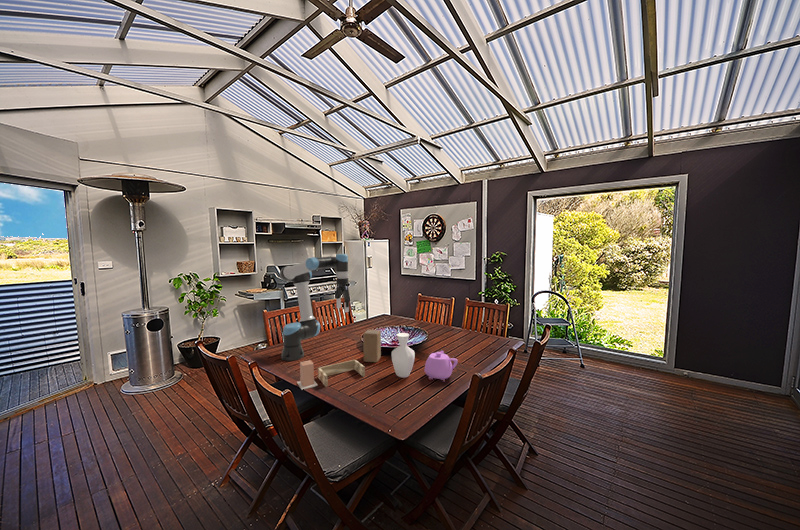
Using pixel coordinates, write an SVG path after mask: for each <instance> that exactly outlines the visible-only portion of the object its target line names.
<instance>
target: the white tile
mask: <svg viewBox="0 0 800 530" xmlns="http://www.w3.org/2000/svg"><path fill="white" fill-rule="evenodd" d="M296 383H297V385H298V387H299V389H300V390H301V391H303V389H304V390H307V389H311V388H315V387H318V385H319V384H318V383H317V382H316V381H315V380H314V384H312V385H308V386H304V387H303V386H302V384H301V383H300V381H296Z"/></svg>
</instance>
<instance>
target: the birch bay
mask: <svg viewBox="0 0 800 530" xmlns="http://www.w3.org/2000/svg"><path fill="white" fill-rule="evenodd" d="M349 371H355V372H357V373H358V374H359V375H361V377H363V378H364V377H366V366H365V365H363V364H362V363H360V362H359V361H358V360H357V359H354V358H353V359H351V360H346V361H343V362H341V361H340V362H338V363H333V364H329V365H324V366H320V367H317V378H318V379H319V381H320V382H321V383H322V385H323V386H324V387H325V388H326V387H328V385H329V383H328V382H329V381H328V379H329V378H328V377H329V376H335V375H337V374H341V373H345V372H346V373H347V372H349Z"/></svg>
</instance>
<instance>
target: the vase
mask: <svg viewBox="0 0 800 530" xmlns="http://www.w3.org/2000/svg"><path fill="white" fill-rule="evenodd" d="M396 336H397V339H398V343H399V345H398V346H397V347H395V348H394V349H393V350H392V351H391V361H392V365H393V368H394V372H395V375H396V376H397V377H399V378H408V377H409V376H410V374H411V372H412V370H413V368H414V363H415V356H416V355H415V354H416V353H415V350H413V348H410V347H409V346H408V345H407V344H408V343H409V337H410V334H409V333H406V332H399V333H397V334H396Z"/></svg>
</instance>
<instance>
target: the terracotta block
mask: <svg viewBox="0 0 800 530" xmlns="http://www.w3.org/2000/svg"><path fill="white" fill-rule="evenodd" d="M314 367H315V366H314V362H313V361H312V360H311V359H309V360H305V361H301V362H299V371H300V373H299V374H300V375H299V378H300V383H301V384H302V386H303V387H304V386H308V385H312V384H314V381H315V372H314V371H315V368H314Z"/></svg>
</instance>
